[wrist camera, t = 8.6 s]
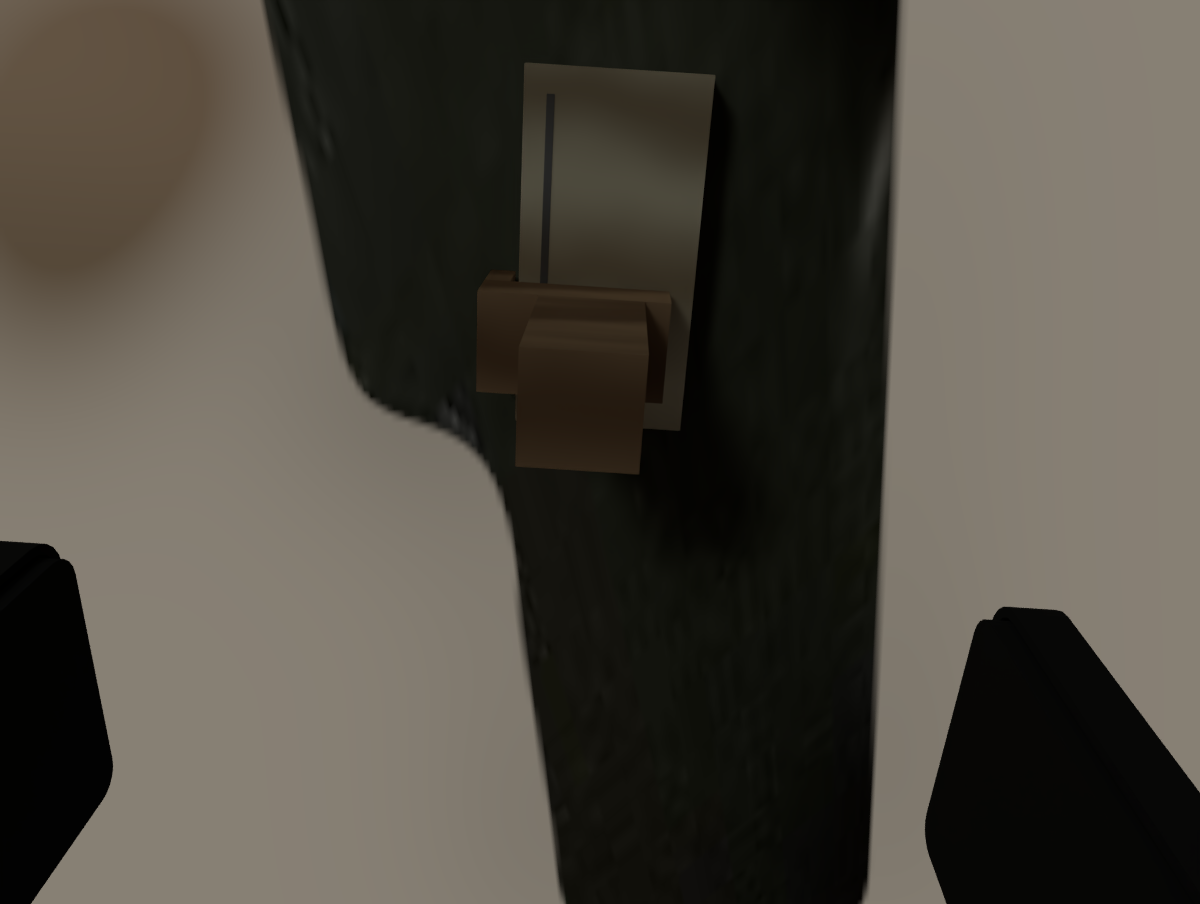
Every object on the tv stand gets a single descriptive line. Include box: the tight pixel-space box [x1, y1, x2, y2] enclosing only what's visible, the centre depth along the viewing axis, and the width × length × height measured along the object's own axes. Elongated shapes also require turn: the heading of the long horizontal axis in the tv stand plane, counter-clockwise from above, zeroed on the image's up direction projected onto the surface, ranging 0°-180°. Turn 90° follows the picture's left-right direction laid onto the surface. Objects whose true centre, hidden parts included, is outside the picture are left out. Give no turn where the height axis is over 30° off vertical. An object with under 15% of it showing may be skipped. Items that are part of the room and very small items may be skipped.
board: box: [515, 63, 715, 431], centre depth 38 cm, size 14×7×2 cm, turn 177°
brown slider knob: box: [476, 270, 671, 474], centre depth 35 cm, size 4×7×11 cm, turn 87°
